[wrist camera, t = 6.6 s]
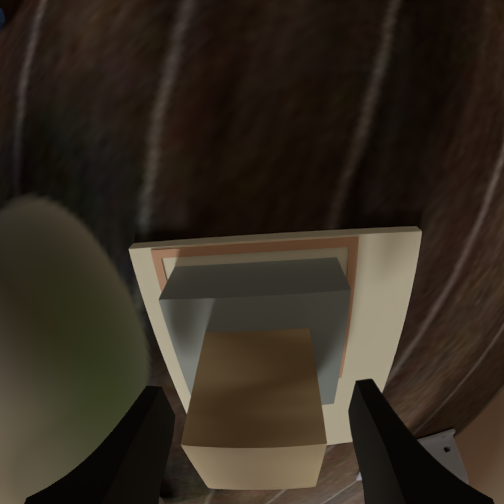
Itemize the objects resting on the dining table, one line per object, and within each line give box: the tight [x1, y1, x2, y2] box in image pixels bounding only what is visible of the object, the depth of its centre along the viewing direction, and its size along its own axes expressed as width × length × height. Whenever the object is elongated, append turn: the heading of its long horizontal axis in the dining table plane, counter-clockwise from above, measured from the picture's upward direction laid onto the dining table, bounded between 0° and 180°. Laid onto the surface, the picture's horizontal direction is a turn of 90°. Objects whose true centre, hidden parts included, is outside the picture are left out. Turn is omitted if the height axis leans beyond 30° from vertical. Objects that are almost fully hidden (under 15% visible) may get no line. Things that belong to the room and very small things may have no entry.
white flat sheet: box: [129, 226, 422, 445], centre depth 17 cm, size 13×18×1 cm
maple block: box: [181, 328, 327, 490], centre depth 10 cm, size 4×4×5 cm
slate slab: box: [158, 257, 351, 405], centre depth 13 cm, size 7×7×2 cm
